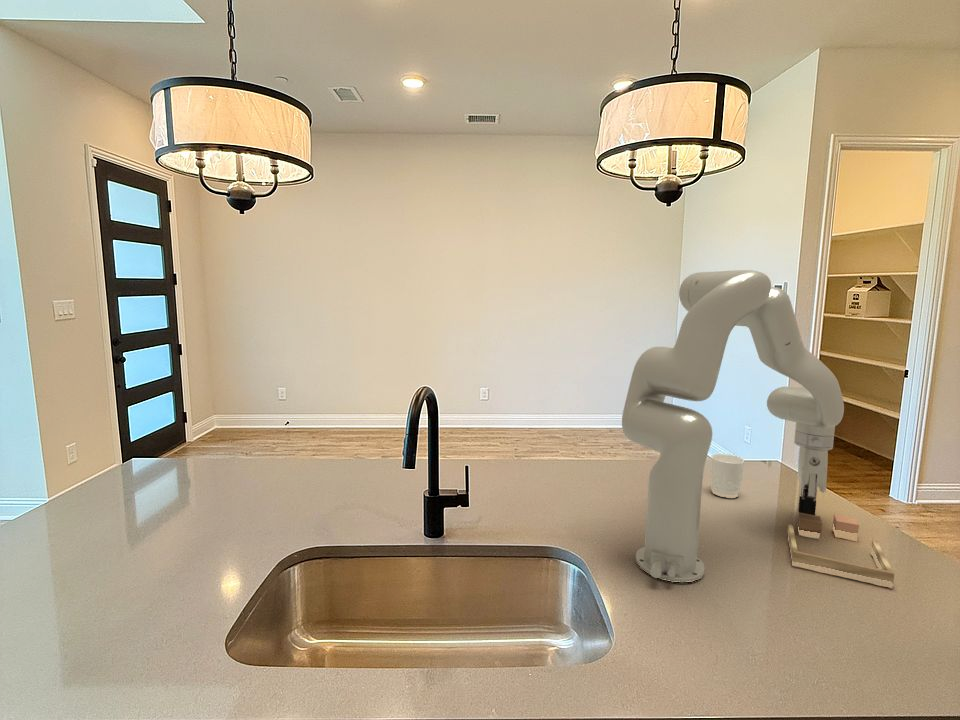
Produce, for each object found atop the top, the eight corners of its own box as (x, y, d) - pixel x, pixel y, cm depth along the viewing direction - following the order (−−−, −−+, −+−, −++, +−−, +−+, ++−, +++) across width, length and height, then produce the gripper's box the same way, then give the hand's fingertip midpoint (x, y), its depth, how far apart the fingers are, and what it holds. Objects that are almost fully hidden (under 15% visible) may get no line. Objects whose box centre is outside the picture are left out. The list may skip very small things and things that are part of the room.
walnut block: (820, 540, 109) (821, 523, 109) (798, 536, 111) (800, 519, 111) (817, 533, 113) (819, 516, 112) (797, 529, 115) (798, 512, 114)
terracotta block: (856, 542, 109) (858, 525, 108) (834, 538, 111) (836, 520, 110) (853, 534, 112) (855, 518, 112) (832, 530, 114) (833, 514, 114)
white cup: (733, 502, 129) (736, 465, 127) (703, 493, 135) (705, 457, 133) (746, 495, 134) (749, 459, 132) (716, 486, 140) (719, 451, 138)
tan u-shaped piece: (892, 589, 91) (894, 573, 91) (791, 566, 98) (793, 552, 98) (875, 555, 103) (877, 541, 103) (787, 536, 111) (788, 524, 110)
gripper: (838, 450, 108) (829, 531, 110) (828, 433, 121) (821, 506, 123) (797, 445, 111) (789, 523, 114) (792, 429, 124) (785, 500, 127)
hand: (806, 514), depth 119 cm, fingers closed
